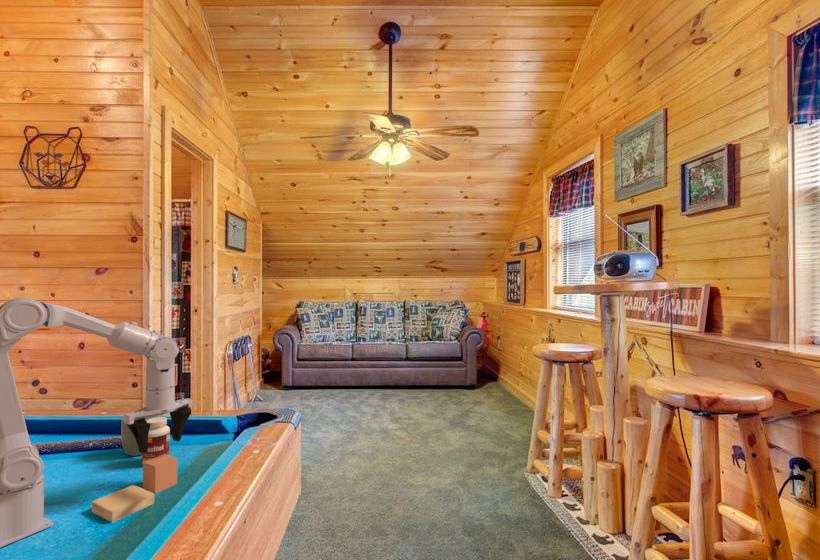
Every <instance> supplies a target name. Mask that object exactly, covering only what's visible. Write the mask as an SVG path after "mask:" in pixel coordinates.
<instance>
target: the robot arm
mask: <svg viewBox="0 0 820 560" xmlns="http://www.w3.org/2000/svg"><path fill="white" fill-rule="evenodd" d="M138 324H139V323H138V322H135V321H131V320H130V321H129V322H127V321H121V322H118V323H115V324H114V323H110V322H107V321H106V320H103V319H99V318H97V317H95V316H92V315H89V314H87V313H84V312H81V311H78V310H75V309H72V308H70V307H68V306H63V305H59V304H56V303H55V304H54V303H49V302H45V301H38V300H35V299H32V298H29V297H14V298H12V299H11V298H10V299H9V300H6V301H5V302H4V303H3V304H1V305H0V548H3V547H5V546H9V544H12V543H14V542H16V541H19V540H21V539H24V538H27V537H29V536H31V535H34V534H36V533H38V532H41V531H43V530H46V529H48V528H50V527H52V526H54V522H53V521H51V520H49V519H48V518H47V517H45V474H44V473H43V471H44V468H45V465H44V462H43V460H42V458H41V457H40V452H39V449H38V447H37V446H36V445H35V444H34V443H32V442H31V440H30V435H29V432H28V428H27V424H26V420H25V416H24V412H23V409H22V408H23V407H22V404H21V400H20V395H19V391H18V388H17V385H16V381H15V375H14V372H13V369H12V368H13V366H12V363H11V361H10V355H9V352H10V351H11V349H12V348H14V347H15V345H16V344H17V343H19V342H20V341H21V340H22V338H24V337H26V336H27V335H29V334H31V333H33V332H35V331H36V330H38V329H39V328H41V327H42V326H45V327H46V328H56V327H63V326H64V327H65V326H66V327H69V328H72V329H76V330H79V331H82V332H86V333H89V334H92V335H95V336H99V337H103V338H105V339H106V340H107V342H108V344H109V346H110V347H111V348H114V349H119V350H122V351H124V352H128V353H132V354H135V355H138V356H144V357H146V369H145V407H142V408H140V409H138V410H135V411H133V412H129V413H126V414H124V417H123V418H124V423H125V424H127V426H128V427H129V429H130V430H131V432H132V433H133V435H134V437H135V439H136V442H137V445H138V449H139V452H141V453H147V451H148V434H149V429H150V425H151V424H149V423H147V421H145V419H148V418H152V417H155V416H156V417H160V416H161V415H165V414H170V421H171V431H172V432H171V437H172V441H174V442H181V439H182V435H183V432H184V429H185V426H186V424H187V422H188V421H189V420H188V419H189V418H190V416H191V415H192V409H191V408H193V405H194V404H193V401H194V400H193V399H192V398H188V397H187V398H183V399H178V400H177V399H176V398H175V397H176V394H175V393H176V391H175V389H176V387H175V386H176V380H175V379H176V378H175V374H176V366H175V358H176V357H177V356H178V354H179V352H180V348H179V346H178V344H177V342H176V340H175V339H173V338H172V337H170V336H165V335H162V334H161V333H160V332H159V331H158V330H155V329H153V330H149V329H146V328H144V327H140V326H138ZM175 399H176V400H175Z"/></svg>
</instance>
